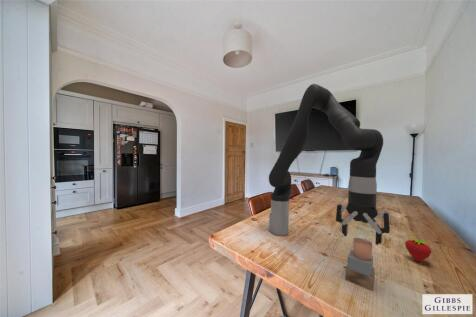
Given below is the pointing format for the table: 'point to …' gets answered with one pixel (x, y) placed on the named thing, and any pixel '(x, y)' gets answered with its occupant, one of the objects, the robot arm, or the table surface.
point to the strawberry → (418, 249)
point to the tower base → (360, 278)
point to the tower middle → (360, 265)
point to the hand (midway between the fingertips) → (360, 239)
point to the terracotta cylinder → (362, 249)
